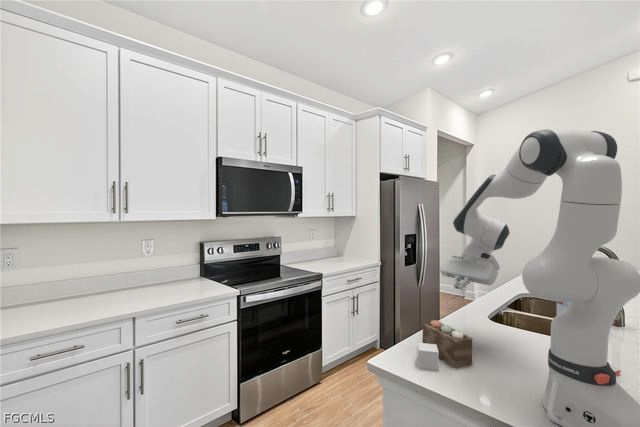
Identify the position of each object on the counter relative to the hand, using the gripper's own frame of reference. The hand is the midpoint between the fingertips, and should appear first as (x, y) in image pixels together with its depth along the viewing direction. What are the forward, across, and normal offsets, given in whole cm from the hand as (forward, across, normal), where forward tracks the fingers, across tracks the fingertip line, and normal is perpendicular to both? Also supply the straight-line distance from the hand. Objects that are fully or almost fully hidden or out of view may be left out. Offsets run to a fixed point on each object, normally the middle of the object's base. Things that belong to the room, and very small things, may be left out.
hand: (457, 288), depth 114 cm
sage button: (+15, +1, +6) cm, 16 cm away
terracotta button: (+15, -4, +6) cm, 17 cm away
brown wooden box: (+21, +1, +11) cm, 24 cm away
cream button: (+16, +6, +5) cm, 18 cm away
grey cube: (+29, +2, +4) cm, 29 cm away
